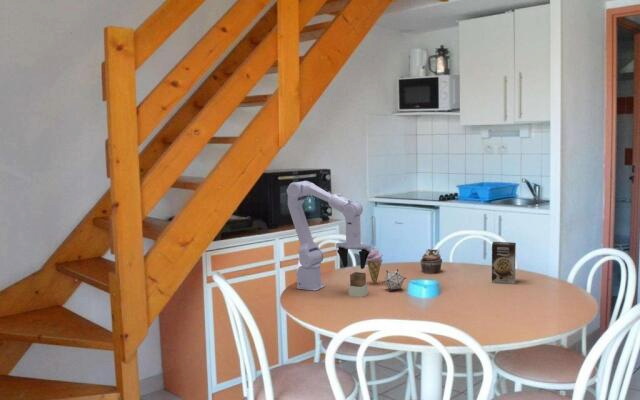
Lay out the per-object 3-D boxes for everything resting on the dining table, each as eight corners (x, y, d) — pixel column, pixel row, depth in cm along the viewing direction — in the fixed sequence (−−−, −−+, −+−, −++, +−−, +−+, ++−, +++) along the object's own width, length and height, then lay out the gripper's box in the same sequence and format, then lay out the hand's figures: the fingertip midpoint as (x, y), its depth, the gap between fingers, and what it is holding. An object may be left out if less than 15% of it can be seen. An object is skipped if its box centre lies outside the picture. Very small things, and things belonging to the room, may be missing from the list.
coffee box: (491, 283, 236) (491, 244, 234) (492, 279, 242) (492, 241, 240) (514, 284, 232) (514, 244, 231) (515, 280, 238) (515, 241, 237)
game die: (398, 300, 229) (405, 283, 223) (378, 292, 231) (384, 275, 224) (403, 284, 236) (410, 268, 229) (383, 276, 237) (389, 260, 231)
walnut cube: (350, 285, 224) (350, 274, 223) (355, 283, 228) (355, 272, 227) (360, 287, 222) (360, 275, 221) (365, 284, 225) (365, 273, 225)
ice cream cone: (383, 281, 244) (382, 246, 242) (383, 285, 238) (382, 249, 236) (367, 282, 244) (366, 247, 243) (367, 285, 238) (366, 249, 237)
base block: (348, 296, 224) (348, 286, 224) (355, 292, 229) (354, 282, 228) (361, 297, 221) (361, 287, 221) (367, 294, 226) (367, 284, 226)
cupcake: (419, 269, 264) (419, 247, 263) (441, 269, 263) (441, 247, 262) (420, 274, 255) (420, 251, 254) (443, 274, 253) (442, 251, 252)
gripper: (331, 233, 225) (332, 267, 227) (365, 236, 218) (366, 271, 219) (340, 230, 231) (341, 264, 233) (373, 233, 224) (374, 267, 225)
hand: (353, 267), depth 226 cm, fingers open, 7 cm apart
